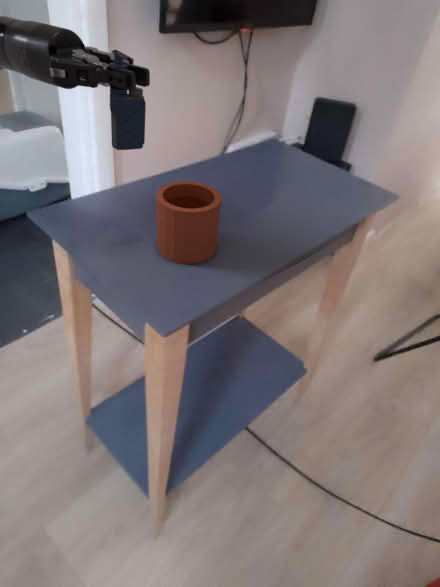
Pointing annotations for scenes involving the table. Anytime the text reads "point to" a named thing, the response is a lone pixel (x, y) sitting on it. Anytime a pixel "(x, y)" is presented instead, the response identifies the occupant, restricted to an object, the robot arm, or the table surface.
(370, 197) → the table surface
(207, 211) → the terracotta planter pot
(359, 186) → the table surface
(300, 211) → the table surface
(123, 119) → the vaping device
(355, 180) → the table surface
